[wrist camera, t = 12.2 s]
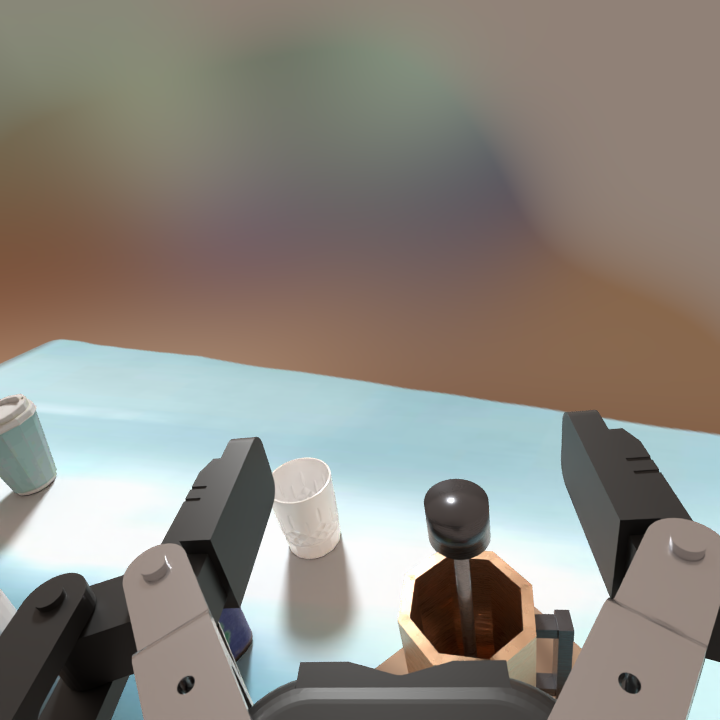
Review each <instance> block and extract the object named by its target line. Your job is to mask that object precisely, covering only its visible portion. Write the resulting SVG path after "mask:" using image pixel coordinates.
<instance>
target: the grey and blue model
mask: <svg viewBox="0 0 720 720" xmlns="http://www.w3.org/2000/svg"><path fill="white" fill-rule="evenodd" d="M219 624H220V626H221V628H222V630H223V633H224V635H225V638H226V640H227V642H228V645H229V647H230V650H231V652H232V655H233V657H234V659H235V662H236V661H237V660H238V659H239V658H240V657H241V656H242V655H243V654H244V653H245V652H246V650H247V649H248V647H249V646H250V644H251V642H252V631H251V629H250V627H249V625H248V623H247V621H246V619H245V616H244V614H243V612H242V610H241V607H240V608H226V609H223V610H222V613H221V616H220V619H219Z"/></svg>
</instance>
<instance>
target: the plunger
mask: <svg viewBox="0 0 720 720" xmlns="http://www.w3.org/2000/svg"><path fill="white" fill-rule="evenodd" d="M424 507H425V514H426V521H427V528H428V536H429V541H430V543H431V545H432V547H433V548H434V549H435V550H436V551H437V552H438V553H439V554H441V555H442V556H444V557H447V558H450V559H454V564H455V573H456V583H457V592H458V601H459V611H460V620H461V630H462V639H463V648H464V657H472V658H477V647H476V636H475V624H474V612H473V601H472V589H471V577H470V566H469V559H471V558H474V557H476V556H478V555H480V554H481V553H482V552H484V551H485V549H486V548H487V547H488V545H489V542H490V519H489V502H488V497H487V494H486V493H485V491H484V490H483V489H482V488H481V487H480V486H478V485H477V484H475V483H473V482H471V481H467V480H463V479H449V480H445V481H442V482H439V483H437V484H435V485H434V486H432V487H431V488H430V489H429V490H428V492H427V493H426V495H425V499H424ZM480 659H481V658H480Z"/></svg>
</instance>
